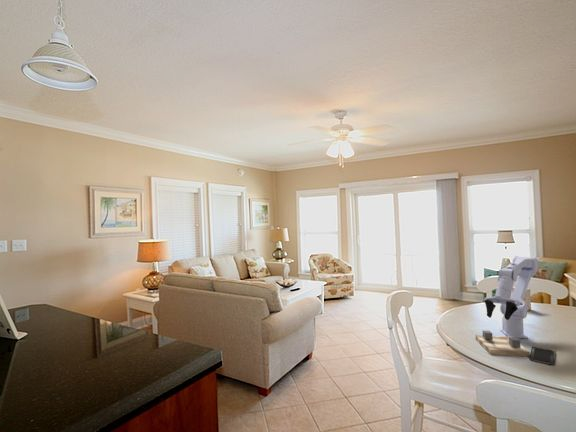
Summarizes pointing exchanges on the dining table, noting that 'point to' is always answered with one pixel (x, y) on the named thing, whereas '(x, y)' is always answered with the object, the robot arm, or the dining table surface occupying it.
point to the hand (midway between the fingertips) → (497, 317)
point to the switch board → (501, 346)
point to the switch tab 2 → (514, 342)
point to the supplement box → (526, 297)
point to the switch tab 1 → (487, 335)
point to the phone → (542, 356)
